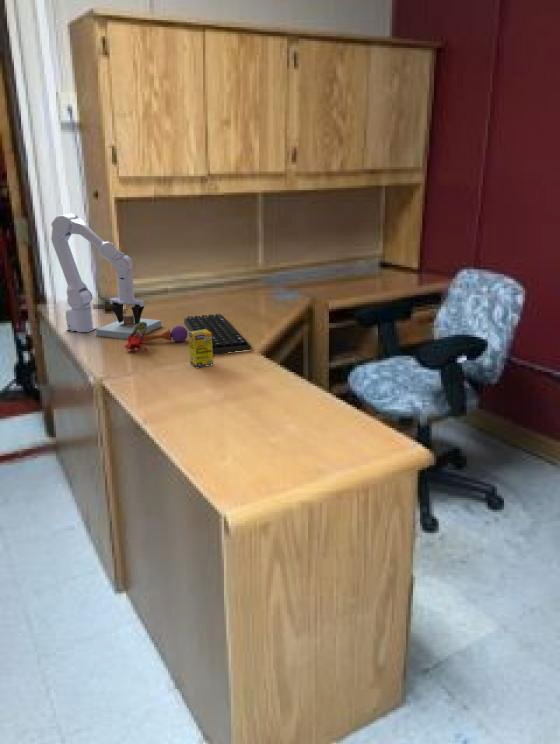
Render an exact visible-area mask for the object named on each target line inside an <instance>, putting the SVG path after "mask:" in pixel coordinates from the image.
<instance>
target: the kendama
mask: <svg viewBox="0 0 560 744" xmlns="http://www.w3.org/2000/svg"><path fill="white" fill-rule="evenodd" d="M188 336H189V333H188V329H187V328H185V327H184V326H183V325H177V326H174V327H173V328H172V329H171V330H170V329H168V330H166V331H165V332H163V333H162V334H144V339H143V341H145V342H146V343H147V342H150V341H153V340H159V339H162V340H163V339H164V340H166V341H170V342H171V341H172V340H173V341H174V342H175V343H183V342H184V341H186V339H187V338H188Z"/></svg>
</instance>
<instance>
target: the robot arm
mask: <svg viewBox="0 0 560 744" xmlns="http://www.w3.org/2000/svg"><path fill="white" fill-rule="evenodd" d="M51 228H52V230H51V239H50V240H51V243H52V245H53V249H54V252H55V254H56V256H57V260H58V263H59V266H60V268H61V270H62V273H63V275H64V278H65V281H66V284H67V287H66V296H67V298H66V299H67V303H68V306H69V307H67V309H66V312H65V321H66V327H67V329H65V331H66V330H71V331H70V332H73V331H77V332H76V333H81V332H87V333H89V332H92V331H94V330H96V329H98V328H99V327H98V326H94V323H93V322H94V321H93V313H92V305H91V302H92V301H93V293H92V291H90V290H89V288H88V286H87V285H86V283H84V282H83V280H82V279H81V275H80V273H79V269H78V267H77V264H76V261H75V258H74V256H73V252H72V250H71V246H70V244H69V239H70V238H71V236H72V235H79V236H82V238H84V239H85V240H87V241H88V242H89V243H90V244H92V245H93V246H94V247H96V248H97V250H98V254H99V255H100V256H102V258H104V259H105V260H106V261H108V263H109V264H110V265H112V267H113V270H114V271H115V272H116V282H117V290H118V291H117V292H118V297H111V298H109V304H111V305H110V308H111V309H112V311H113V312H114V314H115V316H116V319H117V321H118V322H119V323H121V322H123V316H124V305H128V306H131V312H132V315H134V321H135V324H138V323H140V318H141V316H142V313H143V311H144V309H145V300H142V299H136V298H135V291H134V289H135V288H134V279H133V270H132V268H133V267H134V261H133V259H132V258H131V256H130V255H127V254H125V252H122V251H120V249H118V248H117V247H116V246H115V244H114V243H113V242H110V241H104V240H103V239H102V238H101V237H100V236H98V235H97V234H96V233H95V231H94V230H92V229H91V228H90V227H89V226H88V225H87V224H86V223H85V222H84V220H83V219H82V218H81V217H79V216H78V215H76V214H75V213H67V214H63V215H62V214H61V215H57V216H56V217H54V219H53V221H52V222H51Z"/></svg>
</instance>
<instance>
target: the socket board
mask: <svg viewBox="0 0 560 744" xmlns="http://www.w3.org/2000/svg"><path fill="white" fill-rule="evenodd" d="M140 322H145V323H147V326H146V331H145V334H144V335H147V334H148V333H150V332H152V331H154V330H156V329H159V328H161V327H162V320H161V319H160V320H159V319H149V318H141V317H140ZM134 324H135V321H134ZM136 325H137V324H135V325H134V326H132V327H127V326H124V321H123V322H121V323H119V322H118V320H116V321H114V322H111V323H108V324H106V325H104V326H102V327H98V328H97V329H95V333H96V336H98V337H104V336H105V338H112V339H113V338H114V339H123V340H128V336H129V335H131V334H132V333H133V330H134V328H135V326H136Z"/></svg>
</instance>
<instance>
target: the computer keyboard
mask: <svg viewBox="0 0 560 744" xmlns="http://www.w3.org/2000/svg"><path fill="white" fill-rule="evenodd" d="M183 321H184V322H183V324H184V325H185V326H186V329H187V331H188V332H189V331H197V330H204V329H206V330H208V331H209V332H211V333H212V349H213V354H219V355H223V354H222V353H228V352H235V351H243V350H250V349H251V350H252V348H251V344H250V343H249V342H248V341H247V340H246V339H245V338H244V337H243V335H241V333H240V332H239V330H236V328H235V327H234V326H233V325H232V324H231V323H230V321H228V319H227V318H225V316H224V315H222V314H220V313H216V314H208V315H207V314H202V315H201V316H200V315H194V316H189V315H188V316H187V318H184V319H183Z"/></svg>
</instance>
